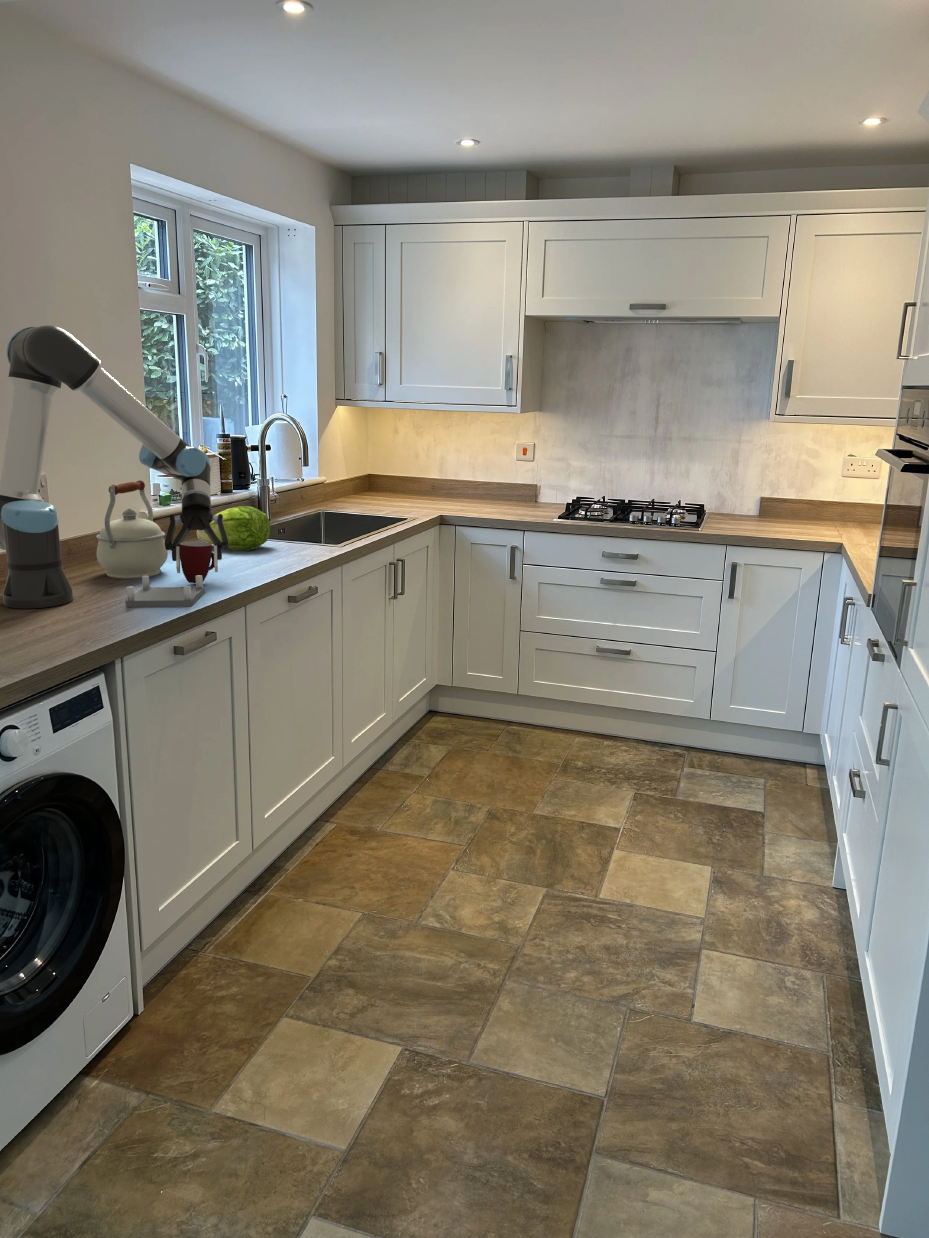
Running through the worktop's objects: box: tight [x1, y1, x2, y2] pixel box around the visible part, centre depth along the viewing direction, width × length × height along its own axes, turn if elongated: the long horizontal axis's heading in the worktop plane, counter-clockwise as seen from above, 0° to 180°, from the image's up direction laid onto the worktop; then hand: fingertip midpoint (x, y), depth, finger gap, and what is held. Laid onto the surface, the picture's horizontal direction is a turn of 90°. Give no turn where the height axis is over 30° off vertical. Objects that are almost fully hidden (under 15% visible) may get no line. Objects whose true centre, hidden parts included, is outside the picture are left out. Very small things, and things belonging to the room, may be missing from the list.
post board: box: [125, 575, 206, 608], centre depth 223 cm, size 15×15×4 cm
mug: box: [179, 540, 215, 584], centre depth 242 cm, size 10×8×10 cm
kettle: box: [96, 479, 169, 580], centre depth 253 cm, size 25×18×25 cm
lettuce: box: [196, 505, 271, 552], centre depth 295 cm, size 14×24×15 cm
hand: (197, 569), depth 239 cm, fingers closed on mug, 9 cm apart
